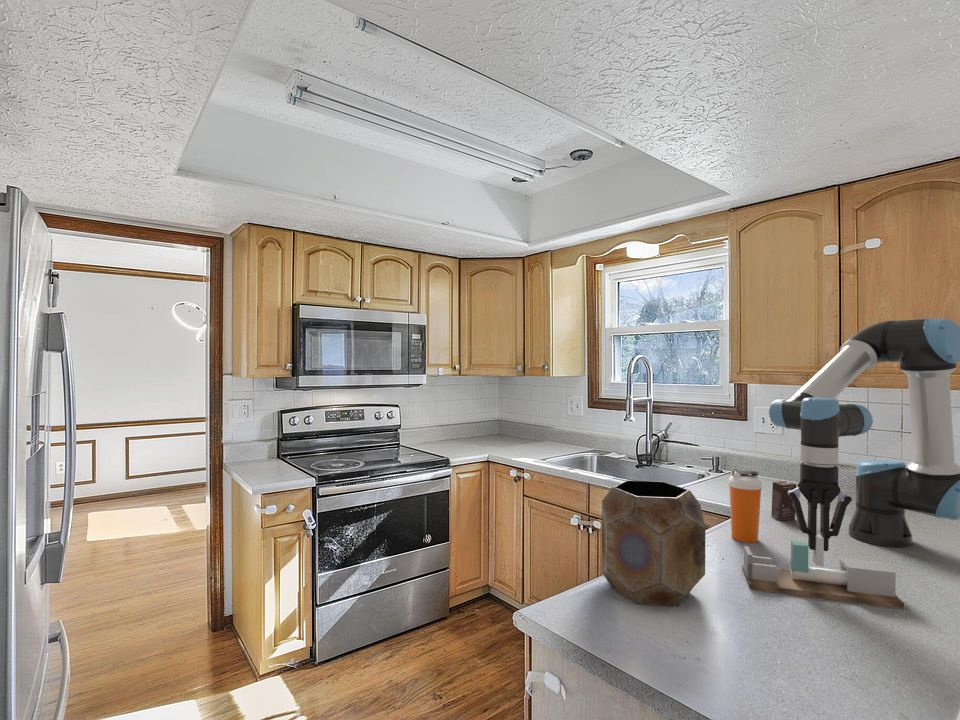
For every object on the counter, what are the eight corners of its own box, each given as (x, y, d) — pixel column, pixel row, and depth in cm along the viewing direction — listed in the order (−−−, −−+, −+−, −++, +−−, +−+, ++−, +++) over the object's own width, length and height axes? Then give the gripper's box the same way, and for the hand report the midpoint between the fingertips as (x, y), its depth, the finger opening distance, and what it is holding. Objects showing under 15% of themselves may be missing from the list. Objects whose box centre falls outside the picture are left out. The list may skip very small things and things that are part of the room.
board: (882, 585, 125) (882, 580, 125) (904, 609, 114) (904, 603, 114) (742, 569, 135) (742, 564, 135) (749, 589, 123) (749, 583, 123)
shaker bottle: (765, 544, 152) (766, 475, 152) (732, 542, 154) (733, 474, 153) (756, 534, 161) (756, 468, 160) (724, 532, 162) (725, 467, 162)
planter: (579, 579, 129) (579, 482, 128) (659, 564, 138) (659, 473, 138) (638, 622, 108) (639, 507, 108) (727, 601, 117) (728, 495, 117)
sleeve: (884, 585, 122) (885, 562, 122) (895, 596, 117) (895, 572, 117) (839, 580, 125) (839, 557, 125) (847, 591, 120) (848, 567, 120)
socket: (770, 572, 130) (771, 548, 130) (775, 582, 124) (776, 557, 124) (743, 569, 132) (744, 546, 132) (747, 578, 126) (747, 554, 126)
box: (781, 521, 173) (782, 484, 173) (771, 517, 177) (771, 481, 177) (796, 519, 175) (797, 483, 174) (785, 515, 179) (785, 480, 179)
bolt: (887, 587, 121) (887, 550, 121) (892, 593, 118) (893, 555, 118) (790, 575, 127) (790, 540, 127) (793, 581, 124) (794, 545, 124)
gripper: (846, 462, 125) (845, 561, 126) (784, 458, 129) (783, 554, 130) (857, 468, 118) (856, 573, 118) (791, 464, 122) (790, 566, 123)
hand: (818, 563), depth 124 cm, fingers closed
